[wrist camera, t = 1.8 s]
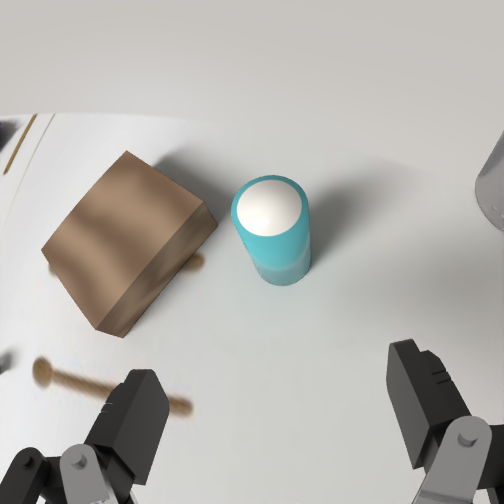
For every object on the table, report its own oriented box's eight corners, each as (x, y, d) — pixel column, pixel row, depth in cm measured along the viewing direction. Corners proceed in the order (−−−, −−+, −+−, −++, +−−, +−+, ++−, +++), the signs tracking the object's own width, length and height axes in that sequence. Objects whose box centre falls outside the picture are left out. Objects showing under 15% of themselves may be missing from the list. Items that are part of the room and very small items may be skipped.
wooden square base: (143, 173, 40) (126, 150, 35) (217, 225, 34) (203, 201, 30) (65, 265, 36) (40, 250, 32) (122, 338, 31) (95, 329, 27)
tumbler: (277, 224, 33) (263, 164, 24) (321, 252, 31) (323, 197, 22) (244, 264, 32) (215, 215, 23) (287, 297, 30) (275, 257, 21)
